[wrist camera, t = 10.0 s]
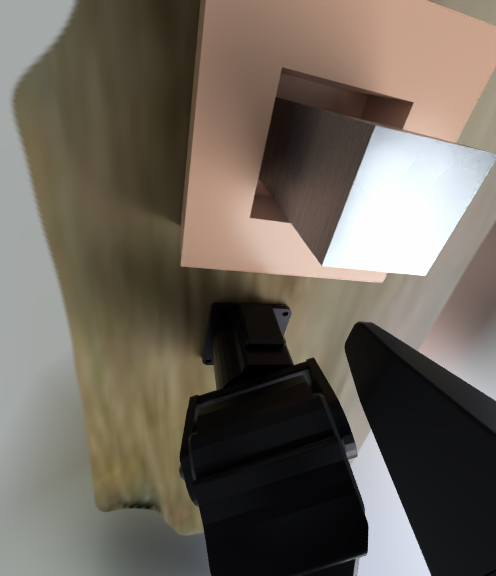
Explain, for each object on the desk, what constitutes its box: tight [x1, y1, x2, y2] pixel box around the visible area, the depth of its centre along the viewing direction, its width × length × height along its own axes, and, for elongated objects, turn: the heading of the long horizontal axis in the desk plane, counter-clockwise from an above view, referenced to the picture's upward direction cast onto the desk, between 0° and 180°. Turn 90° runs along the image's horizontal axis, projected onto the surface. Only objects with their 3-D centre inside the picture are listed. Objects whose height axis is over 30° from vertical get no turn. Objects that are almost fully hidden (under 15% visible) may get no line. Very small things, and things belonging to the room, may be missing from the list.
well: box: [181, 0, 496, 283], centre depth 16 cm, size 12×12×5 cm
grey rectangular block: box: [258, 97, 496, 276], centre depth 13 cm, size 4×4×10 cm
